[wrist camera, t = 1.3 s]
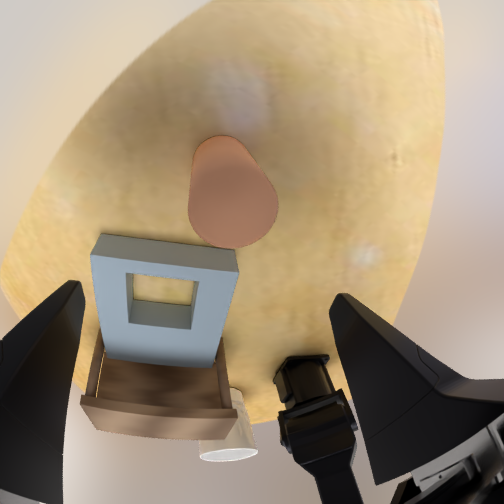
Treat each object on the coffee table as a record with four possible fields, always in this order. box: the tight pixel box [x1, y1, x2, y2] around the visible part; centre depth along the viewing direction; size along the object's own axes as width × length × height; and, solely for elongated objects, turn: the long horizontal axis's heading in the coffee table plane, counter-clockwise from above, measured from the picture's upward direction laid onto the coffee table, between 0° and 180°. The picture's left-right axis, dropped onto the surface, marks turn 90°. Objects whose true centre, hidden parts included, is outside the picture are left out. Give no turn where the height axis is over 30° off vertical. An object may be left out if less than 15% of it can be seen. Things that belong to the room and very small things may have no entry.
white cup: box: [199, 388, 258, 461], centre depth 33 cm, size 8×8×10 cm
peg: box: [188, 136, 278, 249], centre depth 15 cm, size 4×4×8 cm
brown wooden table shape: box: [80, 327, 238, 440], centre depth 24 cm, size 14×7×10 cm, turn 75°
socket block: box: [90, 234, 239, 368], centre depth 23 cm, size 11×13×3 cm
